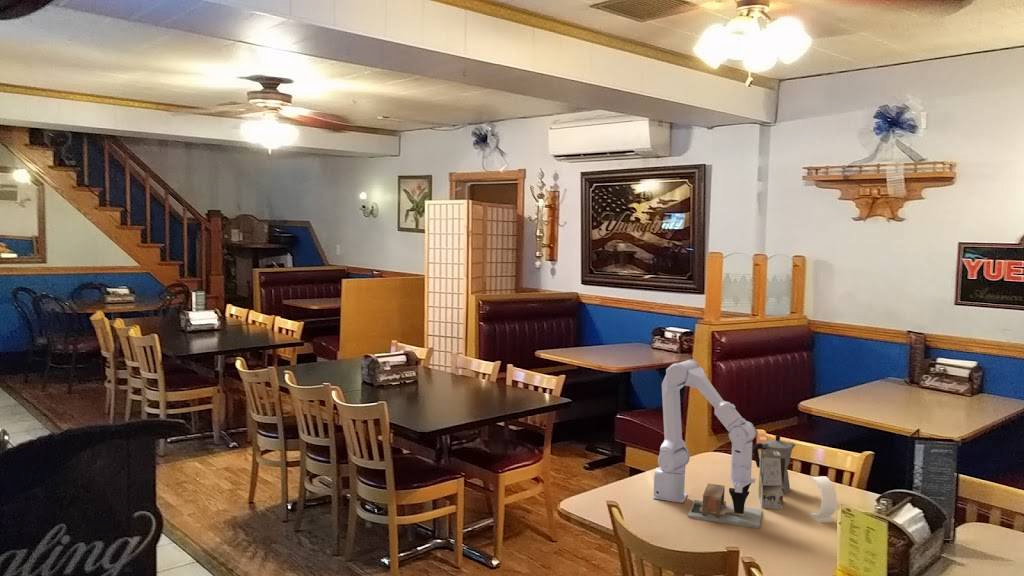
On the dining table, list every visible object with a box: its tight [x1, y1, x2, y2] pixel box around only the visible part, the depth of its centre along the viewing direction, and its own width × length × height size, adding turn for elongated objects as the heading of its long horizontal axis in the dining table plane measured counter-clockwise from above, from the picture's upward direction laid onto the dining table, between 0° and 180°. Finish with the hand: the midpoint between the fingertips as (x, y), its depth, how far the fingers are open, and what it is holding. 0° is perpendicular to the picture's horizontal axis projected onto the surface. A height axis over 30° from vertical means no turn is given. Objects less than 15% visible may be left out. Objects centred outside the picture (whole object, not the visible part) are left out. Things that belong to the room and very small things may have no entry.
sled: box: [700, 500, 744, 516], centre depth 224 cm, size 12×6×4 cm, turn 68°
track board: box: [687, 499, 763, 529], centre depth 224 cm, size 20×13×1 cm, turn 68°
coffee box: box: [757, 449, 785, 510], centre depth 233 cm, size 9×6×16 cm
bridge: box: [702, 483, 726, 518], centre depth 225 cm, size 5×11×6 cm, turn 158°
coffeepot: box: [752, 434, 797, 494], centre depth 245 cm, size 15×9×18 cm, turn 103°
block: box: [707, 499, 716, 511], centre depth 225 cm, size 4×4×4 cm
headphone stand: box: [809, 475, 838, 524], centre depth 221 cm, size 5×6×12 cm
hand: (739, 508), depth 222 cm, fingers open, 7 cm apart
